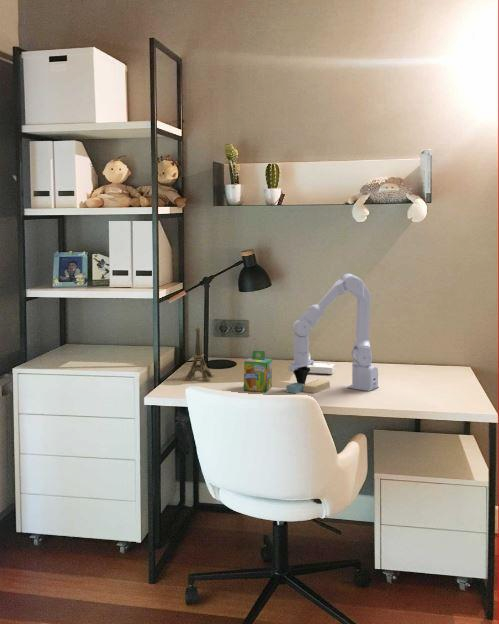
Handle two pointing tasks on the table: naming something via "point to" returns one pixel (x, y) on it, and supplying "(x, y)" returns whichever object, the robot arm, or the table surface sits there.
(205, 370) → the eiffel tower
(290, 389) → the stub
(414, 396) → the table surface
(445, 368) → the table surface
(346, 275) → the robot arm
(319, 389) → the cream usb hub
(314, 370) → the bracket
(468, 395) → the table surface
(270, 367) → the chalk box
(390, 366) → the table surface
